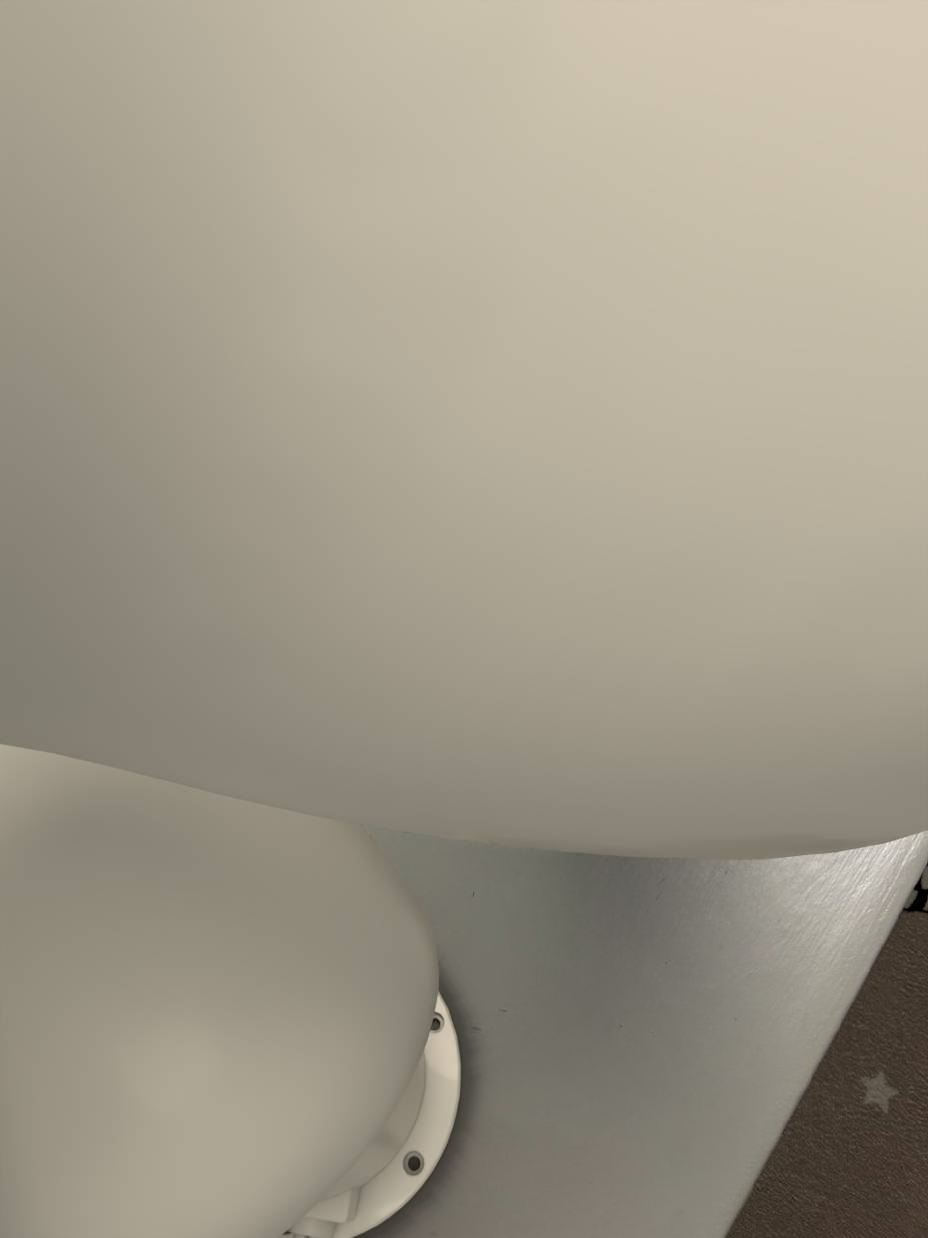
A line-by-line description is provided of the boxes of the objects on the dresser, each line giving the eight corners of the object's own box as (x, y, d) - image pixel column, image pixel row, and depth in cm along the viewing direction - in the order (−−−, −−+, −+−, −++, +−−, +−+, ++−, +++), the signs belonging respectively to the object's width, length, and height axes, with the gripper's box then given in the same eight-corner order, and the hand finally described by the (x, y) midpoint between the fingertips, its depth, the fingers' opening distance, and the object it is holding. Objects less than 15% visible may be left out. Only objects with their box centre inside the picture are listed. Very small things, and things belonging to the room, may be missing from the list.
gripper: (502, 449, 25) (491, 714, 40) (1201, 523, 24) (920, 769, 39) (532, 251, 29) (512, 562, 44) (1141, 306, 27) (905, 607, 42)
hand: (704, 659), depth 41 cm, fingers open, 9 cm apart
